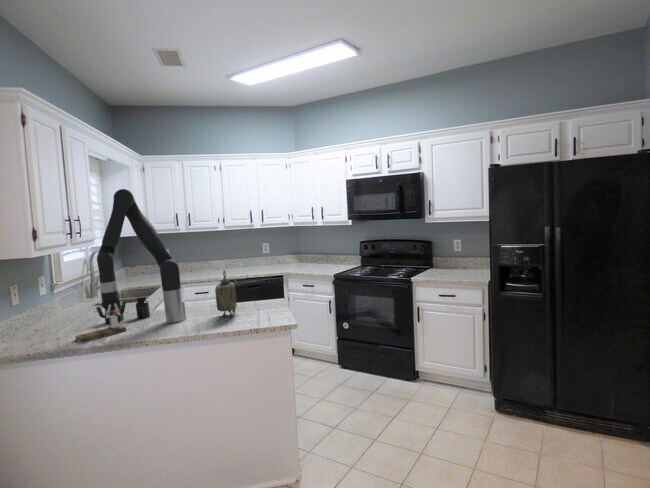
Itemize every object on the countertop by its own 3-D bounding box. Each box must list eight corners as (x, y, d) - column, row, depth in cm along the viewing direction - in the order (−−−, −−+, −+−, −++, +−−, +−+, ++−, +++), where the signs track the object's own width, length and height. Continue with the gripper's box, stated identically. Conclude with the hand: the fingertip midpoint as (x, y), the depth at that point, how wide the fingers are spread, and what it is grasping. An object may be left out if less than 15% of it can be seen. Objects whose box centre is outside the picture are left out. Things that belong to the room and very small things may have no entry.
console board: (119, 328, 202) (119, 324, 201) (126, 330, 196) (125, 326, 195) (75, 339, 187) (75, 335, 187) (81, 343, 181) (81, 338, 181)
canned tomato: (117, 323, 213) (114, 303, 212) (105, 323, 215) (102, 304, 214) (127, 319, 221) (124, 300, 220) (115, 319, 222) (112, 300, 221)
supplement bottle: (152, 315, 225) (149, 295, 224) (147, 318, 218) (144, 297, 217) (140, 316, 225) (137, 296, 223) (135, 319, 218) (132, 298, 217)
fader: (114, 325, 199) (113, 314, 198) (119, 327, 194) (118, 316, 194) (108, 327, 197) (106, 316, 196) (113, 329, 192) (111, 318, 192)
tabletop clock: (235, 318, 203) (230, 271, 201) (218, 320, 202) (213, 273, 200) (237, 311, 217) (233, 267, 215) (221, 313, 216) (216, 269, 214)
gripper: (121, 287, 202) (125, 319, 203) (90, 293, 191) (95, 326, 193) (126, 288, 197) (131, 321, 198) (96, 294, 186) (100, 328, 188)
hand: (113, 323), depth 195 cm, fingers open, 4 cm apart
